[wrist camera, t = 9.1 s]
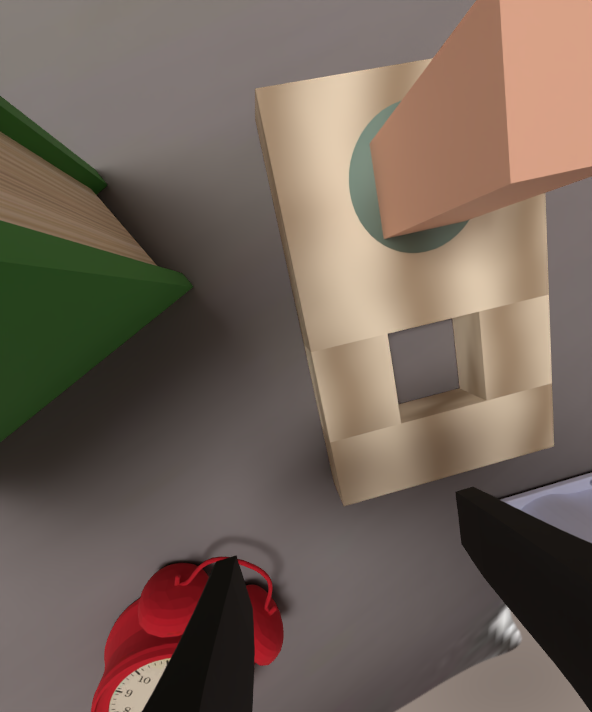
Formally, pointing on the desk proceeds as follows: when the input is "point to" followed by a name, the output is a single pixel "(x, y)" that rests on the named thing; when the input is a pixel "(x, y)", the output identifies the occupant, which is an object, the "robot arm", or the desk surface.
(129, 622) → the alarm clock
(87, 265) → the hardback book
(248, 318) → the desk surface
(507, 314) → the pocket board
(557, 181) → the peg
